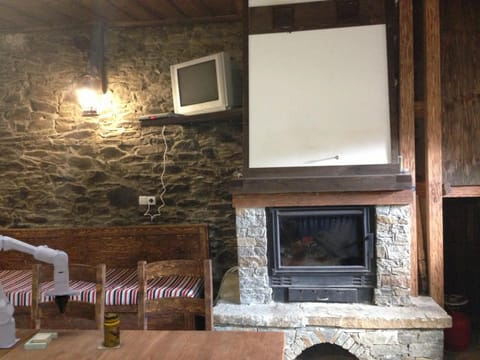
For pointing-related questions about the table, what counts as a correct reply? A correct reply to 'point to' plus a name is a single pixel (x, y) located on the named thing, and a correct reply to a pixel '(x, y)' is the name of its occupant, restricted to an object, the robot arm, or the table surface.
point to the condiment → (111, 332)
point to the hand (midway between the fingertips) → (62, 312)
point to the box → (32, 345)
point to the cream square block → (42, 339)
